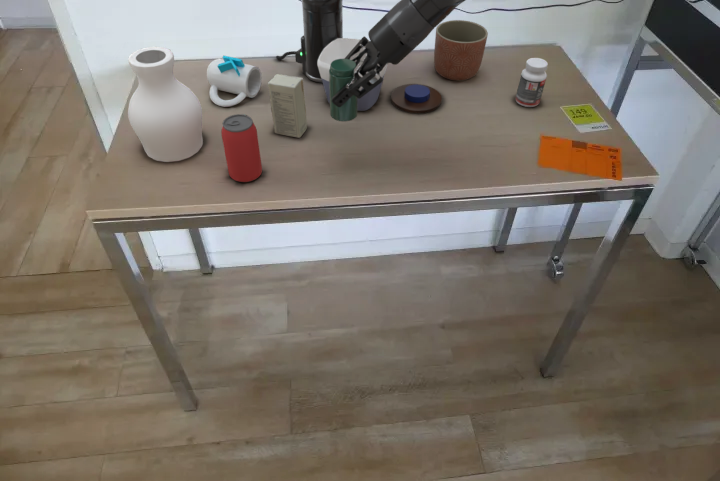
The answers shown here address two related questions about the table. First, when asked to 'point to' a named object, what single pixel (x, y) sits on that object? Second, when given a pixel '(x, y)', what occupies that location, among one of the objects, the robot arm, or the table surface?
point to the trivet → (407, 106)
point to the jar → (337, 80)
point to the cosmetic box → (288, 105)
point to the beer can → (241, 148)
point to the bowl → (340, 51)
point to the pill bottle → (532, 82)
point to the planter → (459, 49)
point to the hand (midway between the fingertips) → (334, 95)
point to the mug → (233, 80)
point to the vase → (163, 108)
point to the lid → (417, 93)
